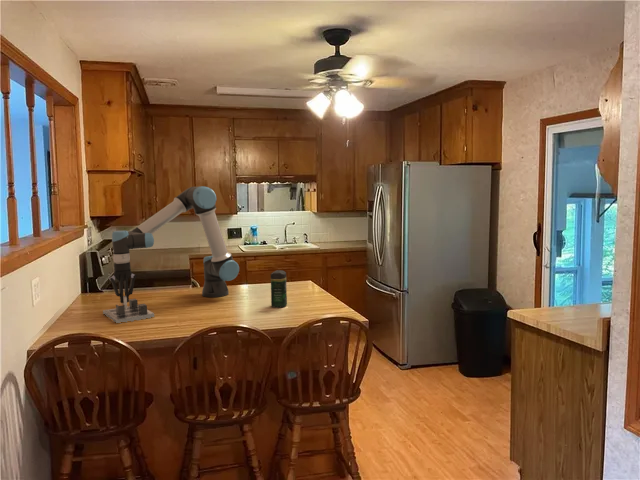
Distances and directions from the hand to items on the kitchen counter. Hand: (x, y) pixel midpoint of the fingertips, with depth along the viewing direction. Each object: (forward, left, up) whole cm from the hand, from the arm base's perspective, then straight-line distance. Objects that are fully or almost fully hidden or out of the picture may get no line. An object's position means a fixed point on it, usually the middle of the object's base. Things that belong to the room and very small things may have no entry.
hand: (125, 309), depth 253 cm
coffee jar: (+34, +69, -4) cm, 77 cm away
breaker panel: (0, +1, -4) cm, 4 cm away
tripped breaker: (0, -2, -2) cm, 3 cm away
